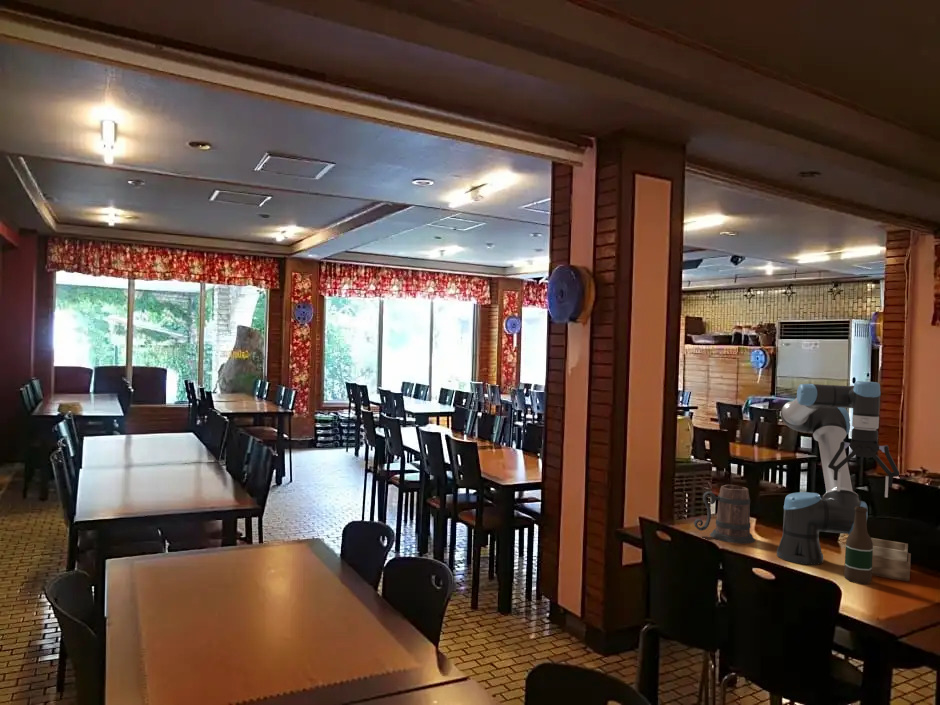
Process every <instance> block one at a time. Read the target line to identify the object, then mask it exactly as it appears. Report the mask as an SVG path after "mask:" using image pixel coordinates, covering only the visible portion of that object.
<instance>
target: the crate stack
mask: <svg viewBox="0 0 940 705" xmlns="http://www.w3.org/2000/svg"><path fill="white" fill-rule="evenodd" d="M871 540H872V543H873V557H872V576H876V577H882V578H886V579H893V580H898V581H904V582H908V583H909V582H910V579H911V578H910V575H911V560H912V558H911V557H912V553H909V552H908V550H909V549H908V548H909V543H905V542H900V541H895V540H893V541H892V540H887V539H880V538H876V537H875V538H874V537H871Z"/></svg>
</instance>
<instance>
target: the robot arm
mask: <svg viewBox="0 0 940 705" xmlns="http://www.w3.org/2000/svg"><path fill="white" fill-rule="evenodd" d="M796 392H797V393H796V397H795V398H794V400H790V401H788V402H786V403H785V404H784V405H783V406H782V407H781V410H780V417H781V420H782V422H783V423H784V425H786V426H787V427H788V428H789V429H792V430H793V431H796V432H800V433H809V434H812V437H813V439H814V441H816V442H818V447H819V454H820V460H821V468H822V473H823V479H824V480H823V481H824V484H825V485H824V486H825V491H826V492H825V493H824V494H823V495H820V494H819V493H817V492H808V491H806V492H803V491H800V492H792V493H789V494H787V495H786V496H785V499H784V503H783V504H784V505H783V524H782V525H783V526H782V536H781V538H780V542H779V545H778V546H777V548H776V556H777V557H778V558H780V559H782V560H784V561H787V562H791V563H795V564H801V565H821V564H823V562H824V554H823V551H822V547H821V543H820V539H819V538H820V537H819V536H820V532H824V533H835V534H845V535H849V534H850V533H851V532H852V530H853V526H854V518H855V510H854V509H855V507H857V506H861V507H865V508H867V512H866V514H867V517H868V514H869V513H868V512H869V510H868V505H867V503H866V502H865V501H863V500H860V497H859V494H858V493H856V492H855V491H854V490H853V486H852V482H851V475H850V470H849V464H848V462H849V461H850V460H851V459H852V458H854V457H855V456H856V457H858V458H865V459H870V458H872V459H873V460H874V461H875V462H876V463H877V464H878V465H879V466H880V468H881V469H882V470H883V471H884V473H885V474H886V476H885V484H884V485H885V486H884V487H885V488H884V490H885V491H884V498H888V497H889V495H888V494H889V488H892V487H893V482H894V481H893V478H895V477H898V476H900V471H899V468H898V467H897V465H896V463H895V461H894V459H893V457H892V455H891V453H890V449H889V448H890V447H889V446H888V444H885V445H879V443H878V442H879V431H878V429H879V428H880V427H879V425H880V424H879V422H880V403H881V393H882V392H881V385H880V383H879V382H877V381H875V382H874V381H863V380H861V381H855V382H854V385H839V384H838V385H837V384H836V385H834V384H815V383H814V384H813V383H801V384H799V385H798V386H797V390H796ZM847 409H852V418H851V417H850V414H849V411H848V410H847ZM851 420H852V421H851ZM851 426H852V429H851ZM850 430H851V440H850V442H846V441H844V440H845V439H846V437H847V435H848V434H849V433H850ZM848 447H849V448H850V450H851V452H850V453H849V454H848V455H847V453H846V449H847V448H848ZM879 450H880V451H881V452H882V453H884V455H885V458H886V459H887V462H888V463H889V465H890V467H891V469H892V471H891V470H890V469H889V467H888V466H887V465H886V464H885V463H884V462H883V460H882V459H881V458H880V457H879V456H878V455H877V452H878V451H879Z"/></svg>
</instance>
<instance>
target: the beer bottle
mask: <svg viewBox="0 0 940 705" xmlns="http://www.w3.org/2000/svg"><path fill="white" fill-rule="evenodd" d="M867 509H868V507H867V508H865V507H861V506H857V507H855V509H854V510H855V518H854V526H853V530H852V532H851V533H850V534H847V535H848V536H847V537H846V539H845V540H846V541H845V552H844V553H845V554H844V555H845V556H844V571H843V573H844V578H845V580H847V581H848V582H852V583H854V584H859V585H860V584H861V585H868V584H870V583H871V582H872V576H873V575H872V557H873V543H872V540H871V538H872V537H871V536H870V534H869V533H868V528H867V527H868V525H867V524H868V522H867V521H868V516H867V514H866V512H867Z"/></svg>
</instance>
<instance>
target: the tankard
mask: <svg viewBox="0 0 940 705" xmlns="http://www.w3.org/2000/svg"><path fill="white" fill-rule="evenodd" d="M749 492H750V491H749V488H747V487H745V486H739V485H736V484H735V485H734V484H725V485H721V486H720V489H719V494H718V495H717V496H716V495H715V493H713V492H711V491H705V492H704V493H703V495H702V500H703V501H702V502H703V503H704V505H705V507H706V511H707V512H706V514H707V516H706V521H705V522H703V520H702V519H700V518H695V520H694V522H693V524H694V527H695V528H696V529H697V530H698V531H705V530H707V529H708V527H709V526H710V522H711V520H712V512H711V507H710V505H709V503H710V504H711V505H714V504H715V503H716V501H717V500H718V503H717V513H716V518H715V528H713V530H712V532H710V534H709V536H710V537H712V538H713V539H715V540H718V541H721V542H726V543H732V544H752V543H755V542H756V539H755V538H754V537H753V534H752V533H751V522H750V521H751V520H750V519H751V518H750V515H751V512H750V511H751V510H750V506H751V497H750V493H749ZM708 495H711V496H710V502H709V503H708V501H707V497H708ZM699 522H700V523H699ZM703 524H704V525H703Z"/></svg>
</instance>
